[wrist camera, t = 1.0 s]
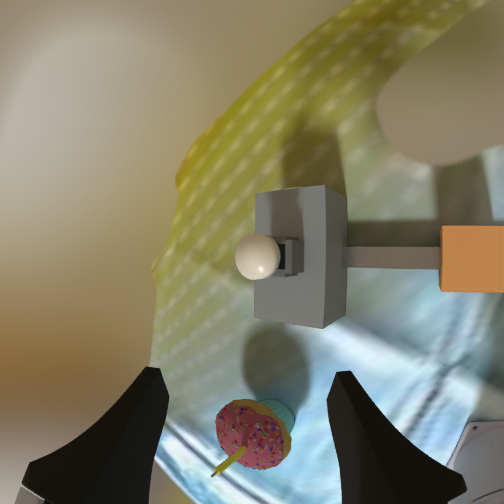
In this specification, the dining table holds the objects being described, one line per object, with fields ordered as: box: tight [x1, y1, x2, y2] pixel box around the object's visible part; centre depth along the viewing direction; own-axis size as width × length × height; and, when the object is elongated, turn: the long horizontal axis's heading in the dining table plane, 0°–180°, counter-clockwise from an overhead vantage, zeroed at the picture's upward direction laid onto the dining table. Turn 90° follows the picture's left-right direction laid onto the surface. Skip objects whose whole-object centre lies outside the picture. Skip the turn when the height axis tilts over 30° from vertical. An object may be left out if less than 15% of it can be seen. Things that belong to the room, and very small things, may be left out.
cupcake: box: [211, 399, 294, 477], centre depth 21 cm, size 9×8×12 cm
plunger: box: [235, 233, 283, 280], centre depth 18 cm, size 3×3×3 cm
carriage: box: [439, 226, 504, 293], centre depth 14 cm, size 5×4×4 cm
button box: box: [254, 185, 348, 329], centre depth 21 cm, size 6×10×7 cm, turn 179°
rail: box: [341, 247, 441, 269], centre depth 16 cm, size 20×4×3 cm, turn 89°
